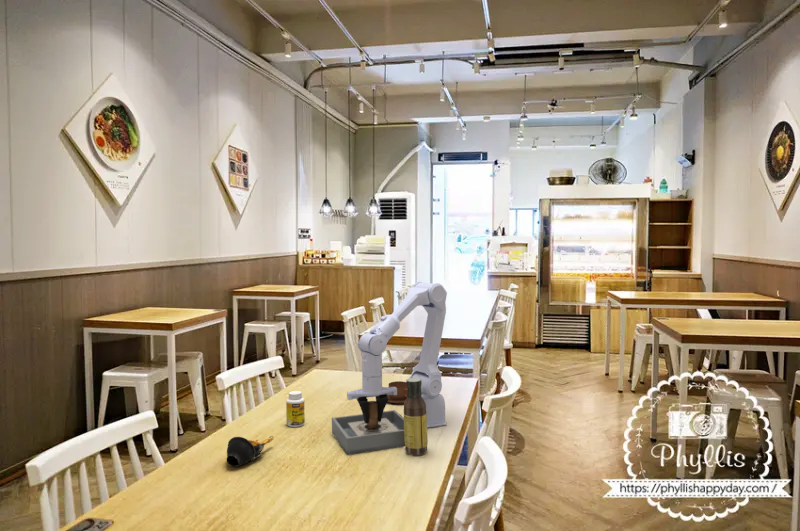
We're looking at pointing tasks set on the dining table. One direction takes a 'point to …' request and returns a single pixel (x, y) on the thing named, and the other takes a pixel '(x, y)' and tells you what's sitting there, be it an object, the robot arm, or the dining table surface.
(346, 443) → the open box
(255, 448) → the fried shrimp in bowl
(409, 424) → the sauce bottle
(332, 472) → the dining table surface
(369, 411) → the peg
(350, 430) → the bored plate
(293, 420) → the supplement bottle
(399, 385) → the cup and saucer
